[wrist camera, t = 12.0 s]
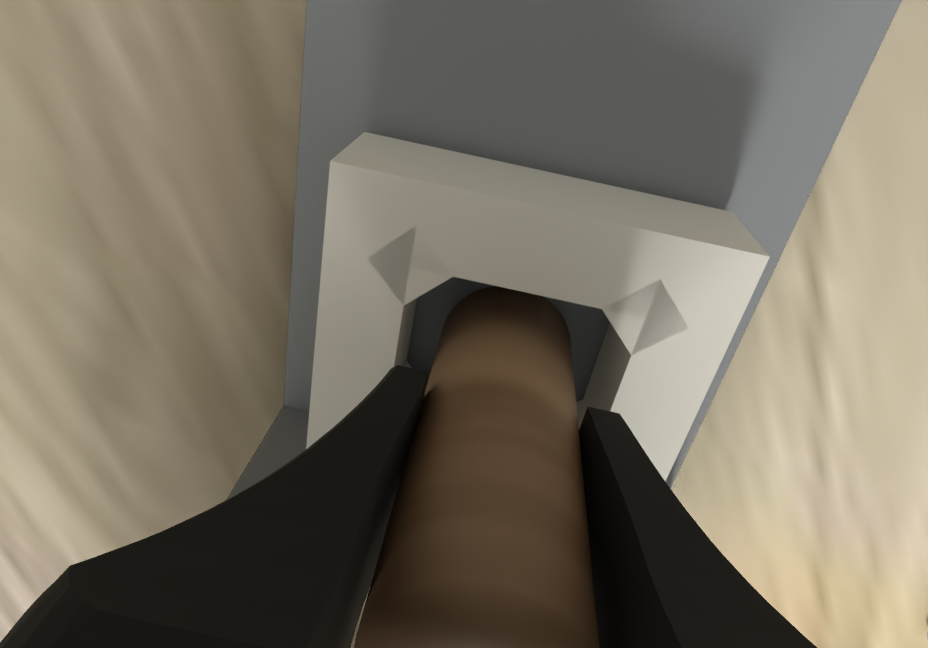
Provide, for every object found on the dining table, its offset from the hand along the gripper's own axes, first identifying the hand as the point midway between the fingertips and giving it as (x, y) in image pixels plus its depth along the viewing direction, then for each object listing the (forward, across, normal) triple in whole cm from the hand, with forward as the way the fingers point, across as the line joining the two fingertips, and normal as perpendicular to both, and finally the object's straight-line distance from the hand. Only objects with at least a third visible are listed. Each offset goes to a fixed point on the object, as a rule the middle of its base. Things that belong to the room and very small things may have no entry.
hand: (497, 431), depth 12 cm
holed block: (+4, 0, 0) cm, 4 cm away
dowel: (+3, 0, 0) cm, 3 cm away
